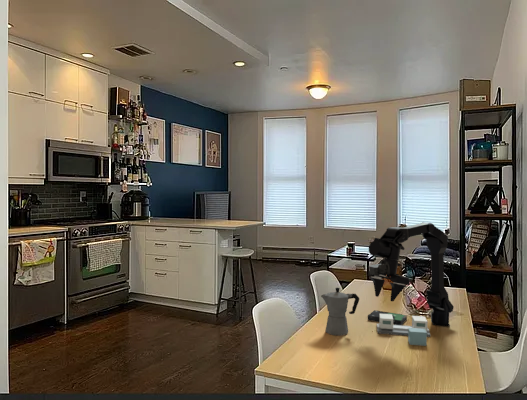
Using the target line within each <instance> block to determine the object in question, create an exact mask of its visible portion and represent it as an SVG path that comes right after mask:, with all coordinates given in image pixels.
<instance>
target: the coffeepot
mask: <svg viewBox="0 0 527 400" xmlns="http://www.w3.org/2000/svg"><path fill="white" fill-rule="evenodd" d="M340 289H341V288H340V287H335V291H334V292H333V291H332V292H328V293H325V294H322V295H320V297H321V298H322V300H323V301H324V303H325V304H326V307H327V308H326V309H327V312H328V316H327V321H326V326H325V333H327V334H328V335H332V336H345V335H347V334H349V327H348V320H347V316H346V314H347V311H348V306H349V305H348V303H349V300H350V299H351V300H352V299H354V301H353V306H352V310H351V311H348V313H349V314H350V315H354V314H355V312H356V310H357V307H358V305H359V302H360V297H359V296H358V295H357V294H356V293H345V292H341V291H340Z"/></svg>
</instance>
